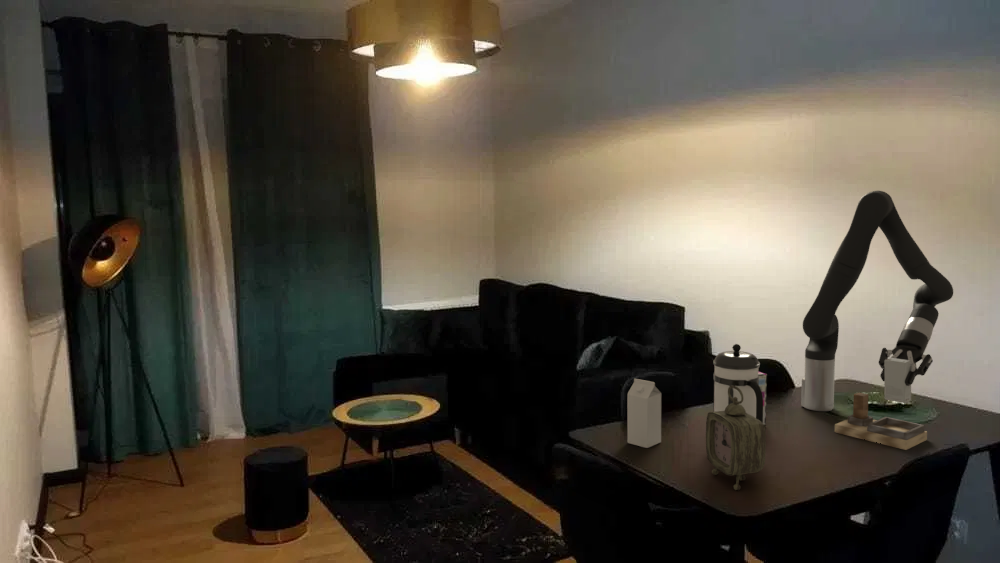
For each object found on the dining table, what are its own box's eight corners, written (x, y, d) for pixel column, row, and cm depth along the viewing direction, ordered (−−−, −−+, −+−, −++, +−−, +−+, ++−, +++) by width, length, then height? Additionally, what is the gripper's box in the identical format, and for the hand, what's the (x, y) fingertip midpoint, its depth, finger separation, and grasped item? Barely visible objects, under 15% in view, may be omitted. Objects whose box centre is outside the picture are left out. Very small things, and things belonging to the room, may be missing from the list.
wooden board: (834, 432, 229) (835, 395, 228) (856, 423, 237) (857, 387, 236) (906, 450, 213) (907, 410, 211) (926, 439, 221) (928, 401, 219)
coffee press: (699, 449, 217) (700, 347, 214) (718, 433, 230) (719, 337, 227) (761, 460, 207) (763, 353, 204) (777, 443, 220) (779, 342, 217)
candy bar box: (766, 425, 238) (768, 374, 236) (753, 426, 236) (754, 375, 234) (746, 415, 248) (746, 366, 246) (732, 416, 247) (733, 367, 245)
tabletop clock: (705, 473, 199) (706, 380, 196) (736, 469, 201) (737, 378, 198) (734, 494, 185) (735, 395, 182) (767, 490, 187) (769, 392, 184)
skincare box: (911, 401, 219) (913, 360, 218) (904, 404, 216) (906, 362, 215) (889, 396, 224) (891, 356, 222) (882, 399, 221) (884, 359, 219)
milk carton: (641, 437, 229) (641, 376, 226) (661, 442, 224) (661, 380, 221) (627, 443, 224) (627, 380, 221) (647, 448, 219) (647, 384, 216)
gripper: (886, 325, 228) (865, 370, 222) (937, 331, 216) (917, 379, 211) (894, 340, 232) (874, 384, 226) (944, 347, 220) (924, 394, 214)
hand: (895, 381), depth 218 cm, fingers closed on skincare box, 6 cm apart
